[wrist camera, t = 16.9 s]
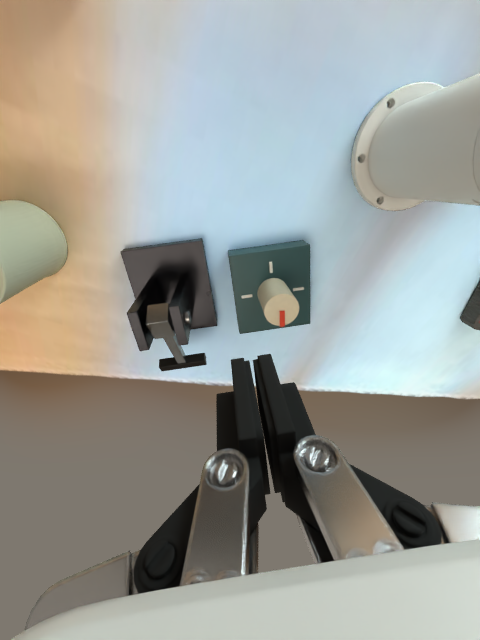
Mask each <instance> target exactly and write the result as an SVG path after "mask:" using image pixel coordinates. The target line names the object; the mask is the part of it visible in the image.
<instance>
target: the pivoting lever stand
mask: <svg viewBox="0 0 480 640" xmlns="http://www.w3.org/2000/svg"><path fill="white" fill-rule="evenodd" d="M121 255H122V258H123V261H124V264H125V268H126V271H127V274H128V277H129V280H130V283H131V286H132V289H133V293H134V296H135V299H136V300H135V301H134V303H133V304H132V306H131V307H130V309H129V310H128V312H127V315H128V318H129V321H130V324H131V329H132V331H133V333H134V336H135V339H136V342H137V344H138V347H139V350H140V351H144V350H149V349H150V346H151V343H152V341H153V338H154V337H153V335H152V334H151V332H150V330H149V329H148V327H147V325H146V316H147V306H148V305H155V304H162V303H169V307H168V308H169V311H170V315H171V319H172V323H173V326H174V330H175V334H176V338H177V342H178V345H186V344H188V341H189V335H190V330H191V329H198V328H204V327H211V326H217V318H216V312H215V307H214V301H213V295H212V290H211V284H210V279H209V273H208V267H207V262H206V256H205V251H204V245H203V240H202V238H200V239H193V240H186V241H179V242H172V243H164V244H157V245H150V246H143V247H136V248H128V249H124V250H122V251H121Z"/></svg>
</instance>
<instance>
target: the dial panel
mask: <svg viewBox="0 0 480 640" xmlns="http://www.w3.org/2000/svg"><path fill="white" fill-rule="evenodd" d="M228 255H229V262H230V270H231V277H232V284H233V291H234V298H235V305H236V313H237V320H238V327H239V333H240V334H243V333H249V332H256V331H263V330H270V329H277V328H284V327H290V326H297V325H304V324H310V245H309V244H308V243H307V242H305V241H304V240H300V241H293V242H286V243H279V244H272V245H265V246H257V247H250V248H243V249H236V250H229V251H228ZM270 278H278V279H281V280H282V281H284V282H285V284H286V285H287V287H288V288H289V289H290V291H291V292H292V294H293V295H294V297H295V298H296V300H297V301H298V304H299V313H298V315H297V317H296V318H295V319H294V320H293V321H292V322H291V323H289V324H287V325H285V326H284V327H280V326H277V325H273V324H271V323H270V322H269V321H268V320H267V319H266V317H265V315H264V312H263V309H262V307H261V304H260V301H259V299H258V288H259V286H260V285H261V284H262V283H263V282H264V281H265V280H267V279H270Z"/></svg>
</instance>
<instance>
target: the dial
mask: <svg viewBox="0 0 480 640" xmlns="http://www.w3.org/2000/svg"><path fill="white" fill-rule="evenodd" d="M258 299H259V301H260V304H261V307H262V309H263V312H264V315H265V317H266V319H267V320H268V321H269V322H270V323H271V324H273V325H277V326H280V327H284V326H285V325H287V324H289V323H291V322H292V321H293V320H294V319H295V318H296V317H297V315H298V313H299V304H298V301H297V300H296V298H295V297H294V295H293V294H292V292H291V291H290V289H289V288H288V287H287V285H286V284H285V282H284V281H282V280H281V279H278V278H270V279H267V280H265V281H264V282H263V283H262V284H261V285H260V286H259V288H258Z"/></svg>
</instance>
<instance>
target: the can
mask: <svg viewBox="0 0 480 640" xmlns="http://www.w3.org/2000/svg"><path fill="white" fill-rule="evenodd" d="M67 253H68V252H67V242H66V239H65V236H64V233H63V232H62V230H61V228H60V227H59V225H58V224H57V223H56V221H55V220H54V219H53V218H52V217H51V216H50V215H49V214H47V213H46V212H45V211H44V210H42V209H40V208H39V207H37V206H35V205H33V204H30V203H28V202H24V201H20V200H5V201H1V202H0V304H1V303H2V302H4V301H6V300H7V299H9V298H11V297H12V296H14V295H16V294H17V293H19V292H21V291H22V290H24V289H26V288H28V287H29V286H31V285H33V284H35V283H36V282H38V281H40V280H42V279H43V278H45V277H48V276H51V275H53V274H55V273H57V272H58V271H59V270H60V269H61V268H62V267H63V265H64V264H65V261H66V258H67Z"/></svg>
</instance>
